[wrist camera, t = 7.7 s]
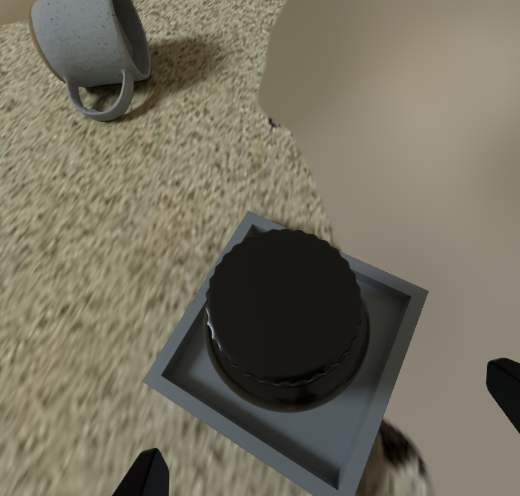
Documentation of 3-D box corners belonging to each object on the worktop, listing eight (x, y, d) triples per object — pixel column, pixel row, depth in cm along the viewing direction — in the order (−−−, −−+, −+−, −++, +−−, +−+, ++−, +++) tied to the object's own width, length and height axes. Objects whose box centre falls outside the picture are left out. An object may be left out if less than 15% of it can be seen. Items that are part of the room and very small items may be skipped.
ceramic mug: (78, 56, 34) (24, -27, 27) (152, 44, 34) (116, -43, 27) (68, 132, 30) (1, 58, 23) (151, 119, 30) (109, 40, 23)
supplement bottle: (320, 278, 22) (354, 177, 11) (356, 381, 19) (452, 390, 8) (224, 304, 22) (158, 229, 10) (247, 412, 19) (193, 465, 8)
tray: (416, 298, 21) (428, 291, 19) (340, 502, 17) (346, 517, 16) (251, 223, 24) (248, 210, 23) (155, 380, 21) (142, 381, 19)
